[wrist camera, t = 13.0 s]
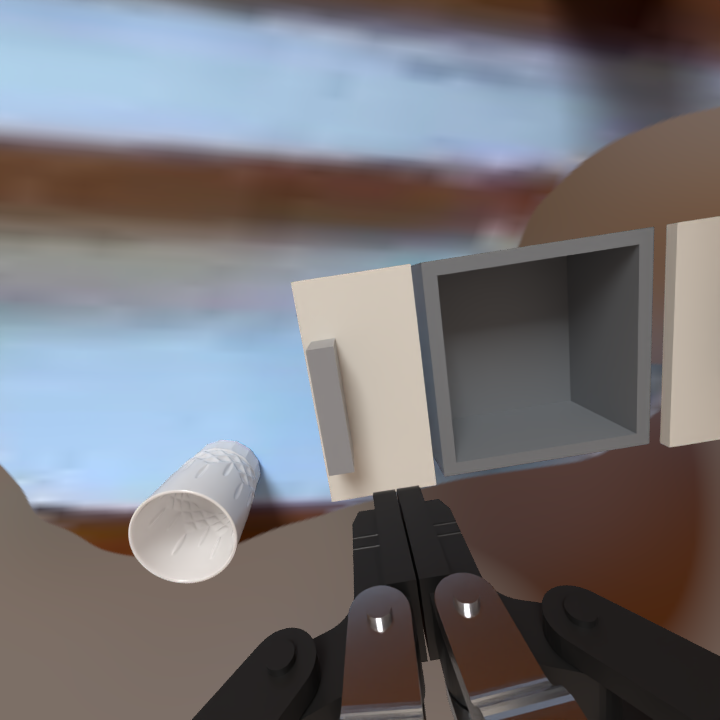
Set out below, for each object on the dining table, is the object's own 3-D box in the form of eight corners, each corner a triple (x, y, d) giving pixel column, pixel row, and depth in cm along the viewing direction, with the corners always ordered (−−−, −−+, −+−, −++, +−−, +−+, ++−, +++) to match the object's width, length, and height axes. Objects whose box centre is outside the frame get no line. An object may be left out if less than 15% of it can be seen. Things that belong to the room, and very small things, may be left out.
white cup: (281, 481, 36) (257, 552, 26) (217, 517, 37) (171, 600, 27) (237, 419, 35) (195, 471, 25) (171, 458, 35) (104, 523, 25)
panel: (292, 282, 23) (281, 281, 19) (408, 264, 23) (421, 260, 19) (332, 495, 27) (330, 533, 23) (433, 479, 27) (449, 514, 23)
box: (400, 269, 32) (420, 262, 24) (570, 243, 32) (654, 226, 24) (420, 429, 36) (444, 476, 27) (574, 405, 36) (649, 443, 27)
